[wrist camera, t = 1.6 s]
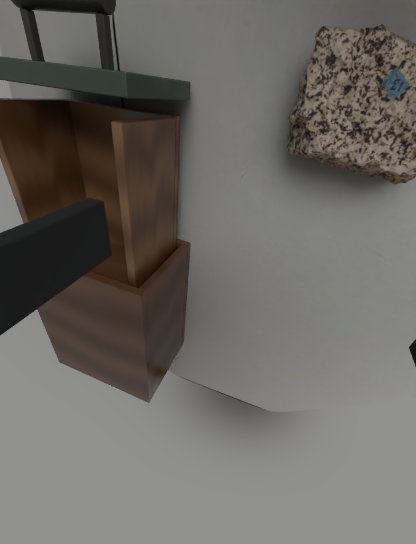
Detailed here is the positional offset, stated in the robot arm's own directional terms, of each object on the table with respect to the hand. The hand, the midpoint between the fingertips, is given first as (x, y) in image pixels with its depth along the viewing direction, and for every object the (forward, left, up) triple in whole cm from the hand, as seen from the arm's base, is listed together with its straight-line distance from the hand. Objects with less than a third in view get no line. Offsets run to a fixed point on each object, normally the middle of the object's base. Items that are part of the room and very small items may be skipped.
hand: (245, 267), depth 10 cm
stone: (-5, +4, -16) cm, 17 cm away
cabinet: (+19, -16, -16) cm, 29 cm away
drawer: (+1, -16, -15) cm, 22 cm away
